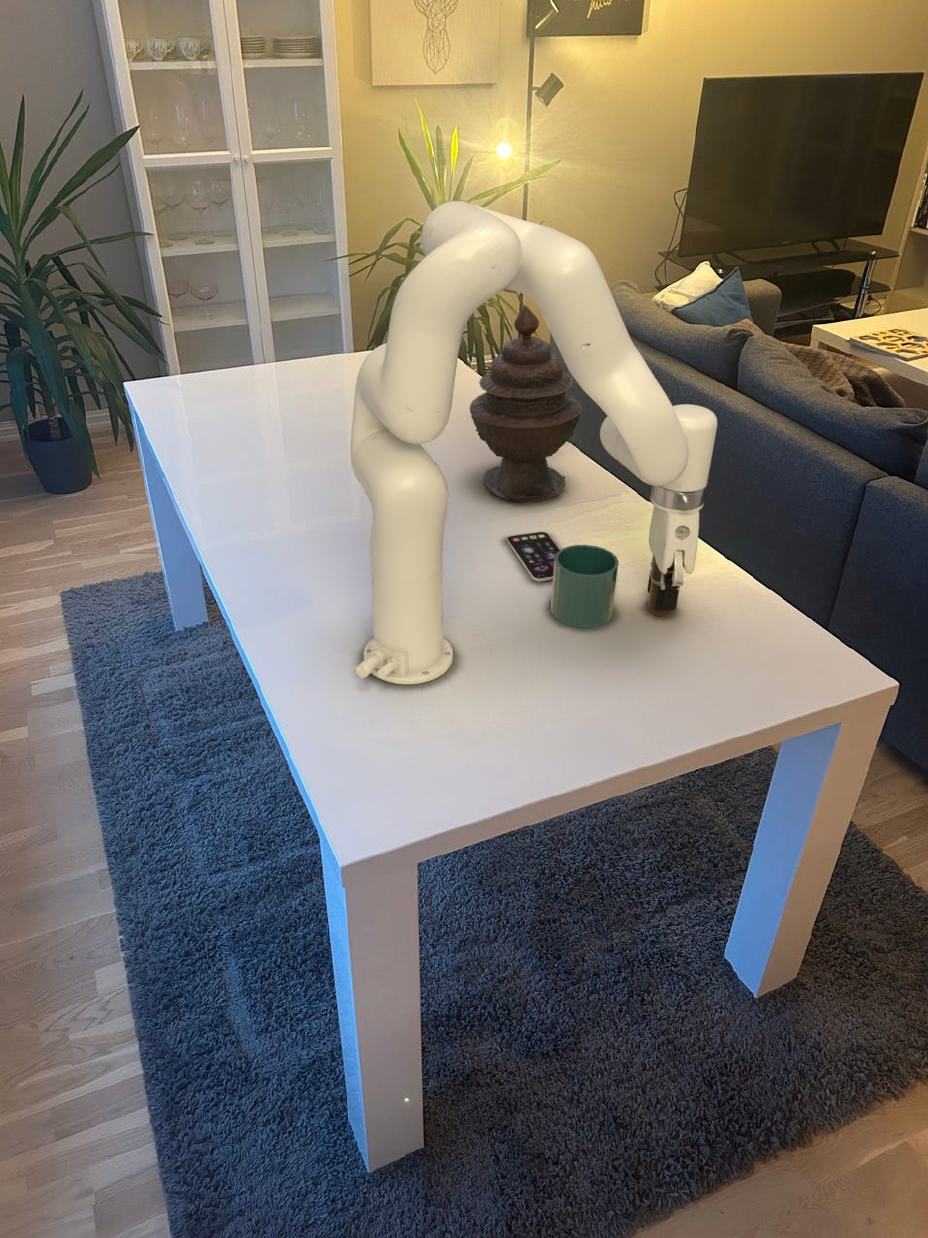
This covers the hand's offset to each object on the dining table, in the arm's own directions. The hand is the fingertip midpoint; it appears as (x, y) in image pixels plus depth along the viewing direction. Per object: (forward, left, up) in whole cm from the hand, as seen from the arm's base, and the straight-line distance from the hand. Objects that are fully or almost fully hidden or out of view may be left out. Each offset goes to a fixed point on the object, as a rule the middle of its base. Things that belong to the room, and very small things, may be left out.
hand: (661, 599), depth 146 cm
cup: (-7, +10, -2) cm, 12 cm away
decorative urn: (+26, +39, -2) cm, 47 cm away
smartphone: (+4, +23, -2) cm, 23 cm away
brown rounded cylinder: (0, 0, -2) cm, 2 cm away
